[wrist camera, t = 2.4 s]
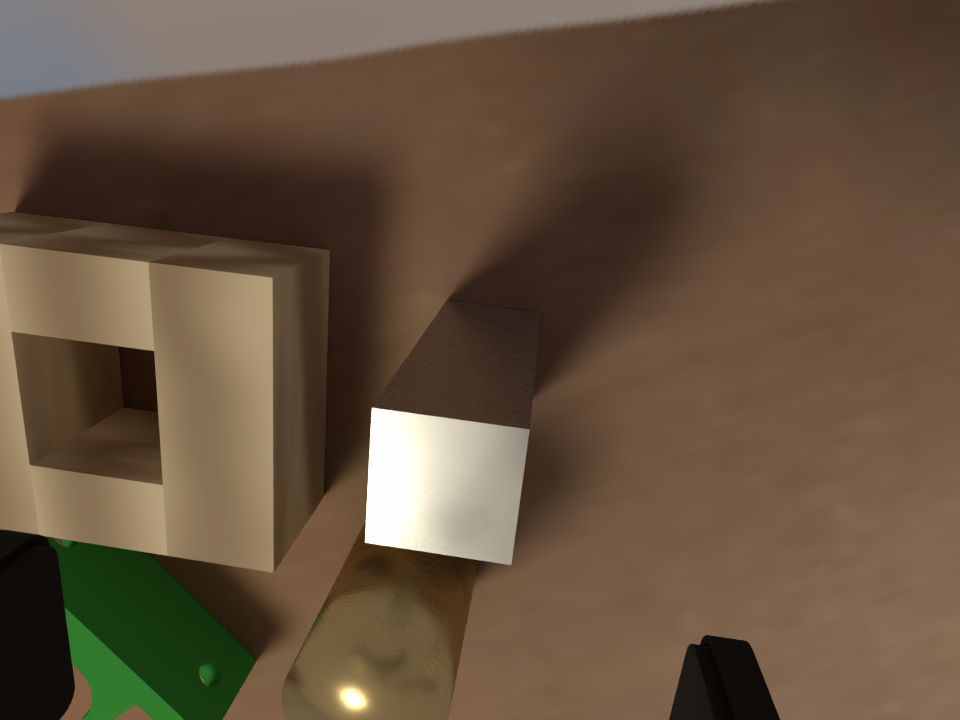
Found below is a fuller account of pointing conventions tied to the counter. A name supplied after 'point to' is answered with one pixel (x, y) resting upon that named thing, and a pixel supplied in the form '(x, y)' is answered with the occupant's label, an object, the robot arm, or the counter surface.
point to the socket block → (161, 388)
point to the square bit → (455, 435)
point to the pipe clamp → (145, 637)
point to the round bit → (384, 638)
